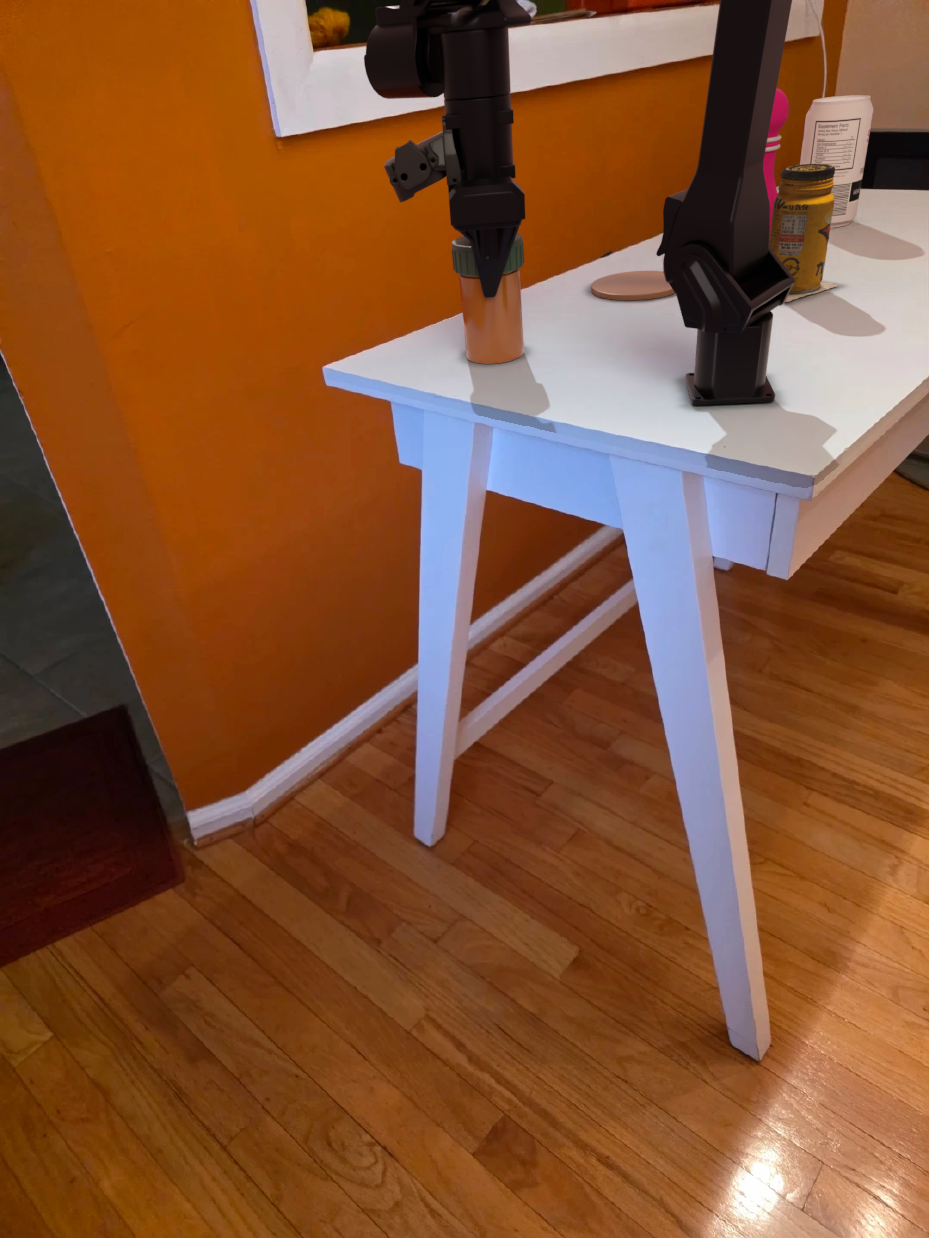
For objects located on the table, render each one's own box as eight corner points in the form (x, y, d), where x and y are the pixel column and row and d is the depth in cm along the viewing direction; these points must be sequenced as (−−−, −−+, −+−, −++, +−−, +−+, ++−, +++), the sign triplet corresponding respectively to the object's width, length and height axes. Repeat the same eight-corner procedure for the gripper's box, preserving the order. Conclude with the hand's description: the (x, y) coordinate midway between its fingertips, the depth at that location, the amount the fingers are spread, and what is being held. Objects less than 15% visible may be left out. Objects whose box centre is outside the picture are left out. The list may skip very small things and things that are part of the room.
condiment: (838, 286, 91) (858, 163, 84) (787, 303, 87) (803, 177, 80) (784, 276, 96) (798, 160, 89) (733, 292, 92) (744, 173, 85)
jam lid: (538, 262, 78) (537, 233, 76) (489, 279, 74) (487, 249, 73) (488, 256, 82) (486, 229, 80) (439, 272, 78) (436, 244, 77)
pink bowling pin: (789, 259, 102) (814, 66, 90) (740, 269, 100) (759, 74, 89) (752, 250, 107) (770, 67, 96) (705, 259, 106) (718, 74, 94)
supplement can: (780, 224, 118) (794, 102, 109) (824, 215, 120) (841, 94, 112) (822, 232, 112) (841, 103, 103) (868, 221, 114) (890, 95, 106)
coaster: (689, 297, 93) (689, 291, 92) (590, 303, 94) (590, 297, 94) (680, 273, 102) (681, 268, 101) (591, 279, 103) (591, 274, 103)
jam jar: (521, 362, 80) (515, 250, 74) (463, 365, 81) (452, 255, 75) (525, 343, 85) (520, 237, 79) (470, 347, 86) (460, 241, 80)
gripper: (388, 97, 78) (407, 271, 87) (376, 115, 63) (401, 323, 72) (505, 86, 77) (512, 262, 87) (522, 101, 62) (528, 312, 71)
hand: (487, 287), depth 79 cm, fingers closed on jam lid, 6 cm apart
